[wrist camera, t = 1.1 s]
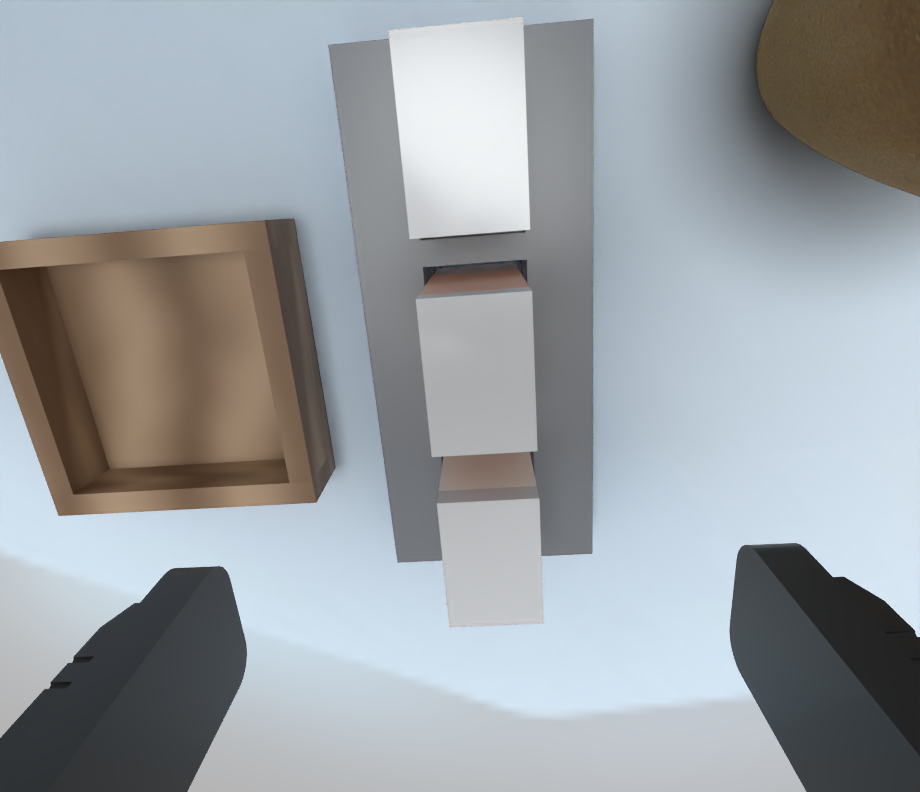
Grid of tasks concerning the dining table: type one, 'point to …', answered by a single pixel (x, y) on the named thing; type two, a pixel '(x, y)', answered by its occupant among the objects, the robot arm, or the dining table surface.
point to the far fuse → (491, 539)
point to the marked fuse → (478, 360)
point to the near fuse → (462, 126)
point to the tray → (167, 367)
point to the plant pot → (847, 82)
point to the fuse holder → (541, 250)
